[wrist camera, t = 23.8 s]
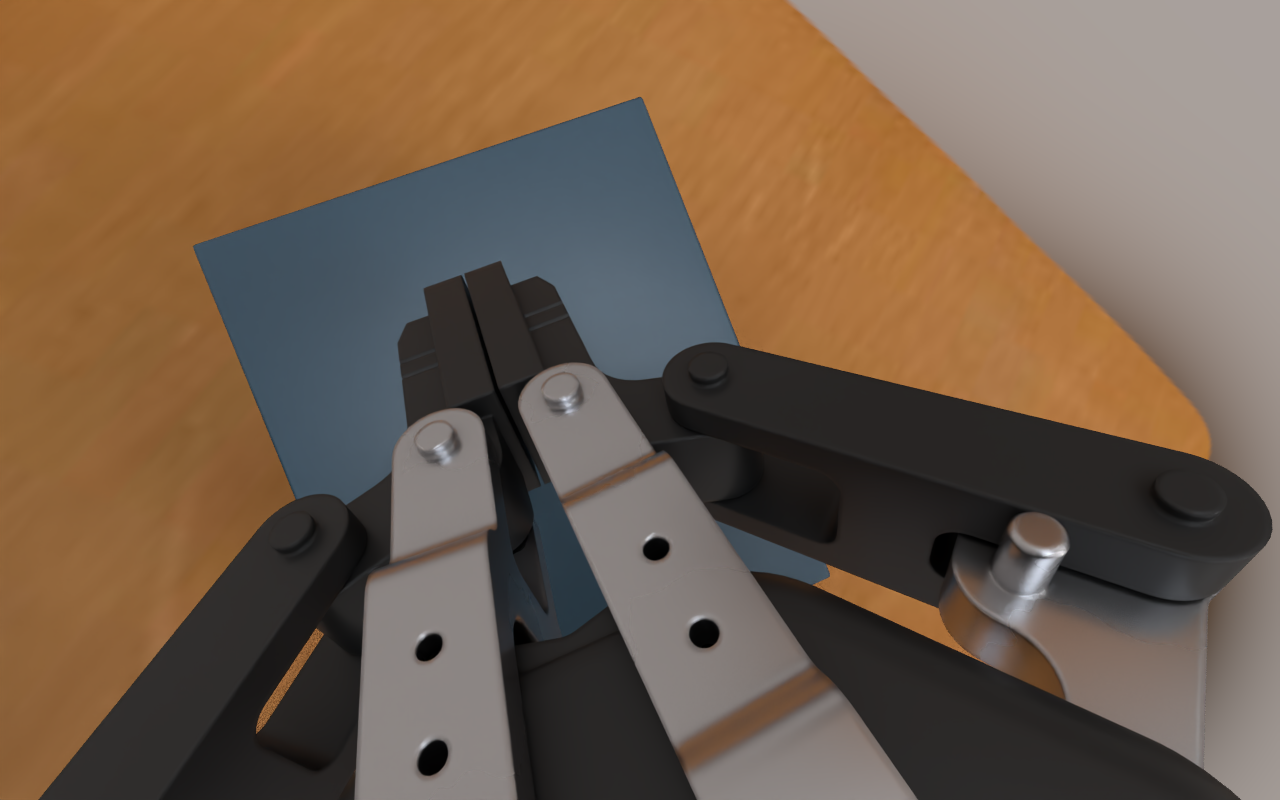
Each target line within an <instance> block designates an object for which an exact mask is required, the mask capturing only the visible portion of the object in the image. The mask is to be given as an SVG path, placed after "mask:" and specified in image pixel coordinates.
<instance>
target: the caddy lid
mask: <svg viewBox="0 0 1280 800" xmlns="http://www.w3.org/2000/svg"><path fill="white" fill-rule="evenodd" d="M193 248H194V251H195V253H196V256H197V258H198V261H199V263H200V266H201V268H202V271H203V273H204V275H205V278H206V280H207V283H208V285H209V288H210V290H211V293H212V295H213V298H214V300H215V302H216V305H217V307H218V310H219V312H220V315H221V317H222V320H223V322H224V324H225V327H226V329H227V332H228V334H229V337H230V339H231V342H232V344H233V347H234V349H235V351H236V354H237V356H238V359H239V361H240V364H241V366H242V369H243V371H244V374H245V376H246V378H247V381H248V383H249V386H250V388H251V391H252V393H253V396H254V398H255V400H256V403H257V405H258V408H259V410H260V413H261V415H262V418H263V420H264V423H265V425H266V427H267V430H268V432H269V435H270V437H271V440H272V442H273V445H274V447H275V450H276V452H277V454H278V457H279V459H280V462H281V464H282V467H283V469H284V472H285V474H286V477H287V479H288V481H289V484H290V486H291V489H292V491H293V494H294V496H295V499H296V500H297V499H300V498H302V497H305V496H309V495H314V494H330V495H333V496H336V497H337V498H339V499H341V500H342V502H343V503H344V504H345V505H347V504H348V503H350V502H351V501H353V500H354V499H356V498H357V497H359V496H360V495H362V494H363V493H365V492H366V491H368V490H369V489H371V488H372V487H374V486H375V485H376V484H378V483H379V482H380V481H382V480H383V479H384V478H385V477H386V476H387V475H388V474H390V472H391V471H392V454H393V450H394V447H395V445H396V443H397V441H398V439H399V438H400V437H401V435H402V434H403V433H404V432H405V431H406V430H407V429H408V428H407V420H406V412H405V403H404V395H403V387H402V380H403V379H402V377H401V370H400V365H401V364H400V362H399V354H398V346H397V343H398V341H399V338H400V336H401V334H402V332H403V330H404V328H405V325H406V323H409V322H412V321H414V320H417V319H420V318H423V317H425V316H428V311H427V306H426V301H425V296H424V290H423V289H424V288H426V287H428V286H431V285H434V284H437V283H440V282H442V281H445V280H448V279H451V278H454V277H456V276H459V275H462V277H463V279H464V281H465V283H466V285H467V282H466V279H465V275H464V273H467V272H470V271H473V270H476V269H478V268H481V267H484V266H487V265H490V264H492V263H495V262H498V261H501V262H502V265H503V267H504V270H505V272H506V275H507V277H508V280H509V282H510V285H513V284H516V283H519V282H521V281H524V280H527V279H530V278H532V277H535V276H538V277H540V278H542V279H544V280H545V281H547V282H549V283H551V284H552V285H554V286H555V288H556V290H557V292H558V294H559V296H560V298H561V300H562V302H563V304H564V306H565V308H566V310H567V312H568V314H569V316H570V318H571V320H572V322H573V324H574V326H575V328H576V330H577V331H578V333H579V335H580V337H581V339H582V341H583V343H584V345H585V347H586V349H587V351H588V353H589V355H590V357H591V359H592V361H593V363H594V364H595V366H596V367H597V368H598V369H599V370H600V371H601V372H603V373H604V374H606V375H608V376H611V377H614V378H617V379H623V380H643V379H650V378H657V377H662V375H663V371H664V369H665V367H666V365H667V363H668V362H669V361H670V360H671V359H672V358H673V357H674V356H675V355H676V354H678V353H679V352H681V351H682V350H684V349H686V348H689V347H691V346H694V345H697V344H702V343H709V342H722V343H728V344H733V345H737V346H740V345H739V342H738V340H737V337H736V335H735V332H734V329H733V327H732V324H731V322H730V319H729V317H728V314H727V312H726V309H725V307H724V304H723V302H722V299H721V297H720V294H719V291H718V289H717V286H716V284H715V281H714V279H713V276H712V274H711V271H710V269H709V266H708V264H707V261H706V258H705V256H704V253H703V251H702V248H701V246H700V243H699V241H698V238H697V236H696V233H695V231H694V228H693V225H692V223H691V220H690V218H689V215H688V213H687V210H686V208H685V205H684V203H683V200H682V198H681V195H680V193H679V190H678V187H677V185H676V182H675V180H674V177H673V175H672V172H671V170H670V167H669V165H668V162H667V160H666V157H665V154H664V152H663V149H662V147H661V144H660V142H659V139H658V137H657V134H656V132H655V129H654V127H653V124H652V121H651V119H650V116H649V114H648V111H647V109H646V106H645V104H644V101H643V99H642V98H641V97H638V98H635V99H632V100H629V101H626V102H623V103H620V104H617V105H614V106H611V107H608V108H605V109H602V110H599V111H596V112H593V113H590V114H587V115H584V116H581V117H578V118H575V119H572V120H569V121H566V122H563V123H560V124H557V125H554V126H551V127H548V128H545V129H542V130H539V131H536V132H533V133H530V134H527V135H524V136H521V137H518V138H515V139H512V140H509V141H506V142H503V143H500V144H497V145H494V146H491V147H488V148H485V149H482V150H479V151H476V152H473V153H470V154H467V155H464V156H461V157H458V158H455V159H452V160H449V161H446V162H443V163H440V164H437V165H434V166H431V167H428V168H425V169H422V170H419V171H416V172H413V173H409V174H406V175H403V176H400V177H397V178H394V179H391V180H388V181H385V182H382V183H379V184H376V185H373V186H370V187H367V188H364V189H361V190H358V191H355V192H352V193H349V194H346V195H343V196H340V197H337V198H334V199H331V200H328V201H325V202H322V203H319V204H316V205H313V206H310V207H307V208H304V209H301V210H298V211H295V212H292V213H289V214H286V215H283V216H280V217H277V218H274V219H271V220H268V221H265V222H262V223H259V224H256V225H253V226H250V227H247V228H244V229H241V230H238V231H235V232H232V233H229V234H226V235H223V236H220V237H217V238H214V239H211V240H208V241H205V242H202V243H199V244H196V245H194V246H193ZM467 287H468V286H467ZM533 462H534V461H533ZM534 465H535V463H534ZM535 468H536V471H537V475H538V478H539V481H540V484H541V486H540V487H538V488H535V489H533V490H530V491H528V494H529V497H530V500H531V504H532V507H533V512H534V519H535V521H536V523H537V525H538V527H539V530H540V536H541V541H542V546H543V551H544V556H545V561H546V566H547V571H548V576H549V581H550V586H551V591H552V596H553V601H554V606H555V611H556V616H557V620H558V624H559V628H560V631H561V634H562V637H564V636H567V635H569V634H571V633H572V632H574V631H575V630H577V629H578V628H579V627H581V626H582V625H583V624H585V623H586V622H587V621H589V620H590V619H591V618H593V617H594V616H595V615H597V614H598V613H599V612H601V611H602V610H603V609H605V608H606V607H607V606H608V604H607V602H606V600H605V598H604V596H603V593H602V591H601V589H600V587H599V585H598V582H597V580H596V578H595V576H594V574H593V572H592V569H591V567H590V565H589V563H588V561H587V558H586V556H585V554H584V552H583V550H582V548H581V545H580V543H579V541H578V539H577V537H576V535H575V532H574V530H573V528H572V526H571V524H570V521H569V519H568V517H567V515H566V513H565V511H564V508H563V506H562V504H561V502H560V499H559V497H558V495H557V493H556V490H555V488H554V486H553V484H552V482H549V483H547V484H544V482H543V480H542V477H541V475H540V473H539V471H538V469H537V467H536V465H535ZM715 521H716V520H715ZM716 523H717V524H718V526H719V527H720V529H721V530H722V532H723V533H724V534H725V536H726V537H727V539H728V540H729V542H730V543H731V545H732V546H733V548H734V549H735V551H736V552H737V553H738V555H739V556H740V558H741V559H742V561H743V562H744V564H745V565H746V567H747V568H748V569H749V571H754V572H767V573H772V574H778V575H783V576H787V577H790V578H793V579H797V580H800V581H803V582H806V583H808V584H810V585H813V584H815V583H817V582H819V581H822V580H824V579H826V578H828V577H829V576H830V573H829V570H828V568H827V565H826V564H825V563H823V562H820V561H818V560H815V559H813V558H810V557H808V556H805V555H803V554H800V553H797V552H795V551H792V550H790V549H787V548H785V547H782V546H780V545H777V544H775V543H772V542H770V541H767V540H764V539H762V538H759V537H757V536H754V535H752V534H749V533H747V532H744V531H742V530H739V529H737V528H734V527H732V526H729V525H726V524H724V523H721V522H719V521H716Z"/></svg>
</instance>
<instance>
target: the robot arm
mask: <svg viewBox="0 0 1280 800" xmlns="http://www.w3.org/2000/svg"><path fill="white" fill-rule="evenodd" d="M464 275H465V279H466V282H467V285H466V283H465V281H464V279H463V277H462V275H459V276H456V277H454V278H451V279H448V280H445V281H442V282H440V283H437V284H434V285H431V286H428V287H426V288H424V289H423V290H424V296H425V301H426V306H427V311H428V316H425V317H423V318H420V319H417V320H414V321H412V322H409V323H406V325H405V328H404V330H403V332H402V334H401V336H400V338H399V341H398V343H397V346H398V354H399V362H400V364H401V365H400V370H401V377H402V379H403V380H402V387H403V395H404V403H405V412H406V420H407V428H408V429H407V430H406V431H405V432H404V433H403V434H402V435H401V437H400V438H399V439H398V441H397V443H396V445H395V447H394V450H393V454H392V471H391V472H390V474H388V475H387V476H386V477H385V478H384V479H383V480H382V481H380V482H379V483H378V484H376V485H375V486H374V487H372V488H371V489H369V490H368V491H366V492H365V493H363V494H362V495H360V496H359V497H357V498H356V499H354V500H353V501H351V502H350V503H348V504H347V505H345V504H344V503H343V502H342V500H341V499H339V498H337V497H336V496H333V495H330V494H314V495H309V496H305V497H302V498H300V499H297V500H295V501H293V502H291V503H289V504H287V505H286V506H284V507H282V508H281V509H279V510H278V511H277V512H275V513H274V514H273V515H272V516H271V517H269V518H268V519H267V520H266V521H265V522H264V523H263V524H262V526H261V527H260V528H259V529H258V530H257V531H256V533H255V534H254V535H253V536H252V538H251V539H250V540H249V541H248V543H247V544H246V545H245V546H244V547H243V549H242V550H241V551H240V552H239V554H238V555H237V556H236V557H235V559H234V560H233V561H232V562H231V563H230V565H229V566H228V567H227V568H226V570H225V571H224V572H223V573H222V575H221V576H220V577H219V578H218V579H217V581H216V582H215V583H214V584H213V586H212V587H211V588H210V589H209V591H208V592H207V593H206V594H205V595H204V597H203V598H202V599H201V600H200V602H199V603H198V604H197V605H196V607H195V608H194V609H193V610H192V611H191V613H190V614H189V615H188V616H187V618H186V619H185V620H184V621H183V623H182V624H181V625H180V626H179V627H178V629H177V630H176V631H175V632H174V634H173V635H172V636H171V637H170V639H169V640H168V641H167V642H166V643H165V645H164V646H163V647H162V648H161V650H160V651H159V652H158V653H157V655H156V656H155V657H154V658H153V659H152V661H151V662H150V663H149V664H148V666H147V667H146V668H145V669H144V671H143V672H142V673H141V674H140V675H139V677H138V678H137V679H136V680H135V682H134V683H133V684H132V685H131V687H130V688H129V689H128V690H127V692H126V693H125V694H124V695H123V696H122V698H121V699H120V700H119V701H118V703H117V704H116V705H115V706H114V708H113V709H112V710H111V711H110V712H109V714H108V715H107V716H106V717H105V719H104V720H103V721H102V722H101V724H100V725H99V726H98V727H97V728H96V730H95V731H94V732H93V733H92V735H91V736H90V737H89V738H88V740H87V741H86V742H85V743H84V744H83V746H82V747H81V748H80V749H79V751H78V752H77V753H76V754H75V756H74V757H73V758H72V759H71V760H70V762H69V763H68V764H67V765H66V767H65V768H64V769H63V770H62V772H61V773H60V774H59V775H58V776H57V778H56V779H55V780H54V781H53V783H52V784H51V785H50V786H49V788H48V789H47V790H46V791H45V792H44V794H43V795H42V796H41V797H40V799H39V800H1241V799H1240V798H1238V797H1237V796H1236V795H1235V794H1234V793H1233V792H1232V791H1231V790H1229V789H1228V788H1227V787H1226V786H1224V785H1223V784H1222V783H1220V782H1219V781H1218V780H1217V779H1215V778H1214V777H1212V776H1211V775H1210V774H1209V773H1207V772H1206V771H1205V770H1204V740H1205V701H1206V662H1207V660H1206V659H1207V624H1208V621H1207V620H1208V605H1209V602H1210V601H1211V600H1212V599H1213V598H1214V597H1215V596H1216V595H1217V594H1218V593H1219V592H1220V591H1221V590H1222V588H1224V587H1225V586H1226V585H1227V584H1228V583H1229V582H1230V581H1231V580H1232V579H1233V578H1234V577H1235V576H1236V575H1237V574H1238V573H1239V572H1240V571H1241V570H1242V569H1243V568H1244V567H1245V566H1246V565H1247V564H1248V562H1250V561H1251V560H1252V558H1253V557H1255V555H1256V554H1257V553H1258V552H1259V551H1260V550H1261V549H1262V548H1263V547H1264V546H1265V545H1266V544H1267V542H1268V541H1269V539H1270V537H1271V533H1272V519H1271V516H1270V513H1269V510H1268V508H1267V506H1266V505H1265V503H1264V501H1263V500H1262V499H1261V497H1260V496H1259V495H1258V494H1257V492H1256V491H1255V490H1254V489H1253V488H1252V487H1250V485H1249V484H1247V483H1246V482H1245V481H1244V480H1242V479H1241V478H1240V477H1238V476H1237V475H1236V474H1234V473H1232V472H1230V471H1229V470H1227V469H1226V468H1224V467H1222V466H1220V465H1218V464H1216V463H1214V462H1212V461H1209V460H1206V459H1204V458H1201V457H1198V456H1195V455H1191V454H1188V453H1184V452H1180V451H1176V450H1171V449H1167V448H1163V447H1159V446H1155V445H1151V444H1146V443H1142V442H1138V441H1134V440H1130V439H1126V438H1121V437H1117V436H1113V435H1109V434H1105V433H1100V432H1096V431H1092V430H1088V429H1084V428H1080V427H1075V426H1071V425H1067V424H1063V423H1059V422H1054V421H1050V420H1046V419H1042V418H1038V417H1034V416H1029V415H1025V414H1021V413H1017V412H1013V411H1009V410H1004V409H1000V408H996V407H992V406H988V405H983V404H979V403H975V402H971V401H967V400H963V399H958V398H954V397H950V396H946V395H942V394H937V393H933V392H929V391H925V390H921V389H917V388H912V387H908V386H904V385H900V384H896V383H891V382H887V381H883V380H879V379H875V378H871V377H866V376H862V375H858V374H854V373H850V372H846V371H841V370H837V369H833V368H829V367H825V366H820V365H816V364H812V363H808V362H804V361H800V360H795V359H791V358H787V357H783V356H779V355H774V354H770V353H766V352H762V351H758V350H754V349H749V348H745V347H741V346H737V345H733V344H728V343H722V342H709V343H702V344H697V345H694V346H691V347H689V348H686V349H684V350H682V351H681V352H679V353H678V354H676V355H675V356H674V357H673V358H672V359H671V360H670V361H669V362H668V363H667V365H666V367H665V369H664V371H663V375H662V377H657V378H650V379H643V380H623V379H617V378H614V377H611V376H608V375H606V374H604V373H603V372H601V371H600V370H599V369H598V368H597V367H596V366H595V364H594V363H593V361H592V359H591V357H590V355H589V353H588V351H587V349H586V347H585V345H584V343H583V341H582V339H581V337H580V335H579V333H578V331H577V330H576V328H575V326H574V324H573V322H572V320H571V318H570V316H569V314H568V312H567V310H566V308H565V306H564V304H563V302H562V300H561V298H560V296H559V294H558V292H557V290H556V288H555V286H554V285H552V284H551V283H549V282H547V281H545V280H544V279H542V278H540V277H538V276H535V277H532V278H530V279H527V280H524V281H521V282H519V283H516V284H513V285H510V282H509V280H508V277H507V275H506V272H505V270H504V267H503V265H502V262H501V261H498V262H495V263H492V264H490V265H487V266H484V267H481V268H478V269H476V270H473V271H470V272H467V273H464ZM467 286H468V287H467ZM533 461H534V462H533ZM534 463H535V465H536V467H537V469H538V471H539V473H540V475H541V477H542V480H543V482H544V484H547V483H549V482H552V484H553V486H554V488H555V490H556V493H557V495H558V497H559V499H560V502H561V504H562V506H563V508H564V511H565V513H566V515H567V517H568V519H569V521H570V524H571V526H572V528H573V530H574V532H575V535H576V537H577V539H578V541H579V543H580V545H581V548H582V550H583V552H584V554H585V556H586V558H587V561H588V563H589V565H590V567H591V569H592V572H593V574H594V576H595V578H596V580H597V582H598V585H599V587H600V589H601V591H602V593H603V596H604V598H605V600H606V602H607V604H608V606H607V607H606V608H605V609H603V610H602V611H601V612H599V613H598V614H597V615H595V616H594V617H593V618H591V619H590V620H589V621H587V622H586V623H585V624H583V625H582V626H581V627H579V628H578V629H577V630H575V631H574V632H572V633H571V634H569V635H567V636H564V637H562V634H561V631H560V628H559V624H558V620H557V616H556V611H555V606H554V601H553V596H552V591H551V586H550V581H549V576H548V571H547V566H546V561H545V556H544V551H543V546H542V541H541V536H540V530H539V527H538V525H537V523H536V521H535V519H534V512H533V507H532V504H531V500H530V497H529V494H528V491H530V490H533V489H535V488H538V487H540V486H541V484H540V481H539V478H538V475H537V471H536V468H535V465H534ZM715 520H716V521H719V522H721V523H724V524H726V525H729V526H732V527H734V528H737V529H739V530H742V531H744V532H747V533H749V534H752V535H754V536H757V537H759V538H762V539H764V540H767V541H770V542H772V543H775V544H777V545H780V546H782V547H785V548H787V549H790V550H792V551H795V552H797V553H800V554H803V555H805V556H808V557H810V558H813V559H815V560H818V561H820V562H823V563H825V564H828V565H830V566H833V567H836V568H838V569H841V570H843V571H846V572H848V573H851V574H853V575H856V576H858V577H861V578H863V579H866V580H868V581H871V582H874V583H876V584H879V585H881V586H884V587H886V588H889V589H891V590H894V591H896V592H899V593H901V594H904V595H907V596H909V597H912V598H914V599H917V600H919V601H922V602H924V603H927V604H929V605H932V606H934V607H937V608H939V611H940V616H941V618H942V621H943V623H944V625H945V627H946V629H947V630H948V632H949V633H950V635H951V636H952V637H953V638H954V640H955V641H956V642H957V643H958V644H959V645H960V646H961V647H962V648H963V649H965V650H966V651H967V652H969V653H970V654H971V655H973V656H975V657H976V658H978V659H980V660H982V661H983V662H985V663H987V664H989V665H991V666H992V667H991V666H989V665H987V664H985V663H983V662H980V661H978V660H976V659H974V658H972V657H969V656H967V655H965V654H963V653H961V652H958V651H956V650H954V649H952V648H950V647H947V646H945V645H943V644H941V643H939V642H936V641H934V640H932V639H930V638H928V637H925V636H923V635H921V634H919V633H917V632H914V631H912V630H910V629H908V628H906V627H903V626H901V625H899V624H897V623H895V622H892V621H890V620H888V619H886V618H884V617H881V616H879V615H877V614H875V613H873V612H870V611H868V610H866V609H864V608H862V607H859V606H857V605H855V604H853V603H851V602H848V601H846V600H844V599H842V598H839V597H837V596H835V595H833V594H831V593H828V592H826V591H824V590H822V589H820V588H817V587H815V586H813V585H810V584H808V583H806V582H803V581H800V580H797V579H793V578H790V577H787V576H783V575H778V574H772V573H767V572H754V571H749V569H748V568H747V567H746V565H745V564H744V562H743V561H742V559H741V558H740V556H739V555H738V553H737V552H736V551H735V549H734V548H733V546H732V545H731V543H730V542H729V540H728V539H727V537H726V536H725V534H724V533H723V532H722V530H721V529H720V527H719V526H718V524H717V523H716V521H715ZM316 628H317V629H318V630H320V631H321V632H322V633H323V634H324V635H323V637H322V638H321V640H320V641H319V643H318V644H317V646H316V648H315V649H314V651H313V652H312V654H311V655H310V657H309V658H308V660H307V661H306V663H305V664H304V666H303V668H302V669H301V671H300V672H299V674H298V675H297V677H296V678H295V680H294V681H293V683H292V684H291V686H290V688H289V689H288V691H287V692H286V694H285V695H284V697H283V698H282V700H281V701H280V703H279V704H278V706H277V708H276V709H275V711H274V712H273V714H272V715H271V717H270V718H269V720H268V721H267V723H266V724H265V726H264V727H263V728H262V729H261V730H260V731H259V732H258V733H257V734H256V726H257V721H258V718H259V715H260V713H261V711H262V709H263V707H264V706H265V704H266V702H267V701H268V699H269V698H270V696H271V695H272V693H273V692H274V690H275V689H276V687H277V686H278V684H279V683H280V681H281V680H282V678H283V677H284V675H285V674H286V672H287V671H288V669H289V668H290V666H291V665H292V663H293V662H294V660H295V659H296V657H297V656H298V654H299V653H300V651H301V650H302V648H303V647H304V645H305V644H306V642H307V641H308V639H309V638H310V636H311V635H312V633H313V632H314V630H315V629H316ZM355 770H356V771H355ZM353 773H354V774H353Z"/></svg>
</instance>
